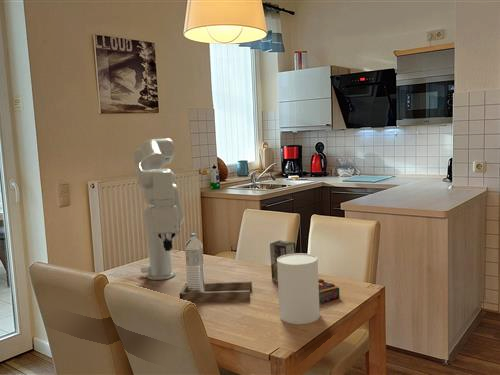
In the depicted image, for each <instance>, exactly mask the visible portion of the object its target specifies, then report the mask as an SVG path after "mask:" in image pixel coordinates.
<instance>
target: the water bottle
mask: <svg viewBox="0 0 500 375" xmlns="http://www.w3.org/2000/svg"><path fill="white" fill-rule="evenodd" d="M189 235H190V238H188V240H186V242H185V244H184V252H185V263H186V264H185V267H186V268H185V269H186V280H187V281H186V283H187V285H188V292H206V291H205V290H206V289H205V283H206V278H205V277H206V276H205V264H204V253H203V252H204V251H203V243H202V241H201V240H200V239H198V238H197V237H196V233H194V232H193V233H190V234H189Z"/></svg>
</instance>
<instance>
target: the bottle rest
mask: <svg viewBox="0 0 500 375" xmlns="http://www.w3.org/2000/svg"><path fill="white" fill-rule="evenodd" d="M205 289H206V290H205V291H206V292H188V285H187V282H186V283H185V284H184V285H183V287H182V289H181V290H180V292H179V300H180V299H183V300H187V301H191V302H190V303H206V302H210V303H211V302H216V303H217V302H236V301H237V302H242V301H243V302H246V301H251V291H253V281H252V280H248V281H247V280H246V281H245V280H244V281H221V282H220V281H219V282H217V281H216V282H215V281H214V282H213V281H212V282H205Z"/></svg>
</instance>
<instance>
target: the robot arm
mask: <svg viewBox="0 0 500 375" xmlns="http://www.w3.org/2000/svg"><path fill="white" fill-rule="evenodd" d="M175 155H176V146H175V142H174V141H173V140H172V139H171V138H167V137H166V138H164V137H163V138H152V139H147V140H145V141H143V142H142V143H141V146H140V148H136V149H135V150H134V151H133V154H132V159H133V160H132V161H133V164H134V168H135V175H136V179H137V183H138V184H137V185H138V186H139V188H140V189H141V190H142V191H143V192H142V193H143V199H144V203H146V205H147V206H150V207H147V208H146V209H145V210H144V212H143V221H144V225H145V231H146V236H147V248H148V259H149V260H148V261H149V266H147V267H140V272H142V273H143V274H145V273H147V274H146V278H147V279H149V280H152V281H161V280H162V281H163V280H168V279H171V278H173V277H175V276H176V271H175V270H174V269H172V268H173V267H172V257H171V256H172V255H171V254H172V253H171V250H172V249H173V239H174V238H175V237H176V236H180V235H181V234H182V232H181V225H182V224H183V223H184V222H185V215H184V210H183V209H184V207H183V203H182V198H181V192H180V188H179V186H178V185H177V184H175V173H174V172H173V171H172V169H170V168H164V166H165V165H167V164H168V165H169V164H171V163H172V161H173V159H174V157H175Z"/></svg>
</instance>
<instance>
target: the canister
mask: <svg viewBox="0 0 500 375" xmlns="http://www.w3.org/2000/svg"><path fill="white" fill-rule="evenodd" d="M277 271H278V282H277V286H278V290H277V291H278V306H279V307H278V308H279V309H278V310H279V318H280V320H281V321H283V322H285V323H288V324H293V325H303V324H311V323H314V322H316V321H318V320H319V319H320V317H321V316H320V305H319V284H318V279H319V262H318V257H317V256H316V255H314V254H310V253H303V252H302V253H301V252H299V253H297V252H296V253H295V254H287V255H283V256H280V257H278V258H277Z"/></svg>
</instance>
